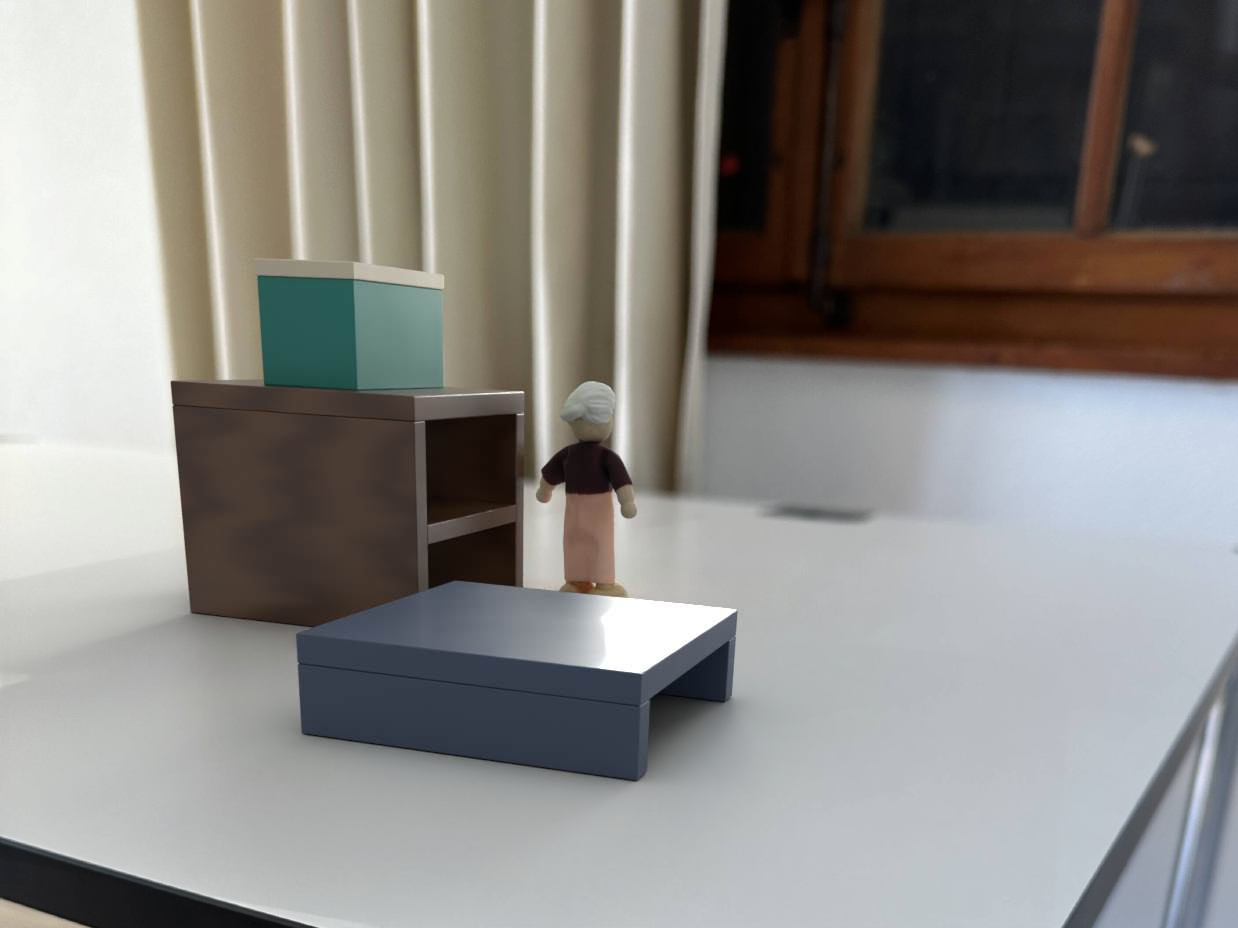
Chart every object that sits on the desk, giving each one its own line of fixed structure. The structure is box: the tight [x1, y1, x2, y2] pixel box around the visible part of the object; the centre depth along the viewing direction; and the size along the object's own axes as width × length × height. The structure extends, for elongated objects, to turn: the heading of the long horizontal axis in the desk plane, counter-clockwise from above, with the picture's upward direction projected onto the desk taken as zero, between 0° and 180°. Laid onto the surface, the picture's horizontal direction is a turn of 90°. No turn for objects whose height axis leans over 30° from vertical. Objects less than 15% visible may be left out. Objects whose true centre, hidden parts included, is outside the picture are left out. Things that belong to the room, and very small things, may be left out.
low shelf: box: [295, 581, 739, 781], centre depth 55 cm, size 14×14×4 cm
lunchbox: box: [252, 257, 445, 390], centre depth 71 cm, size 6×10×6 cm, turn 163°
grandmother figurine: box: [535, 380, 638, 598], centre depth 81 cm, size 8×4×13 cm, turn 65°
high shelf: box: [170, 378, 525, 628], centre depth 75 cm, size 14×14×12 cm
